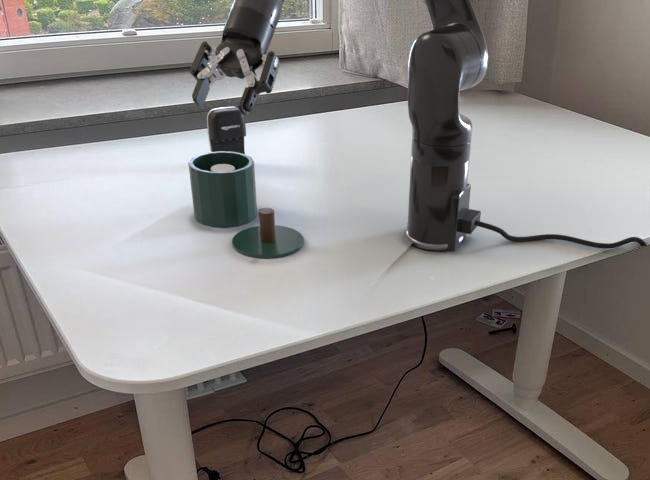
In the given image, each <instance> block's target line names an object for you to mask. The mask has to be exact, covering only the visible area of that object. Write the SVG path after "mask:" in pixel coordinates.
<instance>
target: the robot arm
mask: <svg viewBox="0 0 650 480" xmlns="http://www.w3.org/2000/svg"><path fill="white" fill-rule="evenodd" d="M423 2H424V5H425V7H426V10H427V13H428V16H429V19H430V20H429V21H430V23H431V27H432V29H429V30H425V31H424V32H422V33H420V34H419V35H418V36H416V38H415V39H414V41H413V43H412V45H411V47H410V50H409V55H408V63H407V64H408V65H407V113H408V118H409V122H410V125H411V152H410V153H411V154H410V170H409V190H408V191H409V192H408V209H407V210H408V211H407V226H406V227H407V229H406V238H407V240H408V241H409V242H410V243H411V245H412V246H413V247H416V248H419V249H422V250H426V251H433V252H434V251H436V252H437V251H438V252H439V251H440V252H441V251H450V252H455V251H456V250H457V249H458V248H459V246H461V245H462V243H463V242H464V241H465V239H466V238H467V235H472V233H473V232H474V231H475V230H476V229H477V227H479V228H482V229H486V230H489V231H492V232H495V233H498V234H499V235H501V236H502V238H504V239H505V240H507V241H509V242H515V243H523V242H525V243H527V242H535V241H536V242H537V241H542V240H557V241H564V242H568V243H569V242H570V243H574V244H578V245H582V246H585V247H586V246H587V247H590V248H594V249H595V248H597V249H605V250H609V249H610V250H611V249H616V248H619V247H623V246H625V245H628V244H630V243H637V244H639V245H640V246H641V247H647V246H648V244H647V243H646V241H645V240H644V239H642V238H641V237H638V236H630V237H627V238H624V239H621V240H619V241H615V242H609V243H607V242H606V243H604V242H596V241H590V240H587V239H582V238H578V237H574V236H570V235H565V234H558V233H557V234H556V233H546V234H536V235H529V236H516V235H511V234H509V233H508V232H507V231H506V230H504V229H503V228H501V227H498V226H497V225H493V224H490V223H487V222H483V221H481V215H482V211H481V210H476V209H471V208H470V199H471V190H472V189H471V188H472V185H471V184H470V183H468V178H469V170H470V169H469V168H470V167H469V166H470V157H471V148H472V138H473V137H472V136H473V123H472V120H471V119H470V118H469V117H468V116H465V115H463V114H462V113H460V93H461V91H464V90H468V89H471V88H474V87H475V86H477V85H479V84H480V83H481V82H482V81H483V80H484V78H485V76H486V73H487V71H488V67H489V50H488V45H487V41H486V38H485V35H484V32H483V28H482V27H481V24H480V21H479V19H478V16H477V13H476V12H475V9H474V6H473V3H472V1H471V0H423ZM284 3H285V0H234V1H233V3H232V5H231V8H230V11H229V14H228V16H227V19H226V22H225V24H224V27H223V29H222V34H221V41H220V43H219V44H218V45H217V46H213V45H210V44H209V43H208V42H207V41H206V40H205V41H202V43H201V44H200V45H199V48H198V50H197V53H196V54H195V57H194V59H193V61H192V64H191V66H190V68H189V70H188V71H189V73H190V74H191V76H192V77H193V78H194V79H195V80H196V84H195V86H194V88H193V91H192V95H191V98H192V102H193V103H194V104H195V105H196V106H197V107H200V108H202V107H204V105H205V103H206V99H207V97H208V95H209V92H210V89H211V87H210V86H212V85H213V84H214V83H215V82H217V81H222V80H223V79H224V78H225V77H227V78H238V79H241V80H244V79H245V81H246V83H247V87H246V86H245V87H244V90H243V93H242V95H241V98H240V100H239V103H238V106H237V108H238V109H239V110H240V112H241V113H242V114H243V115H244V116H245V115H246V116H247V115H249V113H251V112H252V111H253V109H254V106H255V104H256V101H257V98H258V96H259V95H261V93H266V94H271V93H272V91H273V89H274V86H275V82H276V79H277V76H278V73H279V69H280V65H281V60H280V59H279V58H278V56H277V54H276V53H275V52H274V51H273V50H270V51H269V52H268V50H269V48H270V45H271V42H272V40H273V37H274V34H275V31H276V29H277V26H278V23H279V21H280V18H281V13H282V8H283V5H284ZM262 65H263V67H262V71H261V74H260V77H259V76H258V74H257V72H256V70H258V69H259V68H260V67H261V66H262ZM217 67H219V69H220V70H218V69H217ZM258 77H259V78H258Z"/></svg>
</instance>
